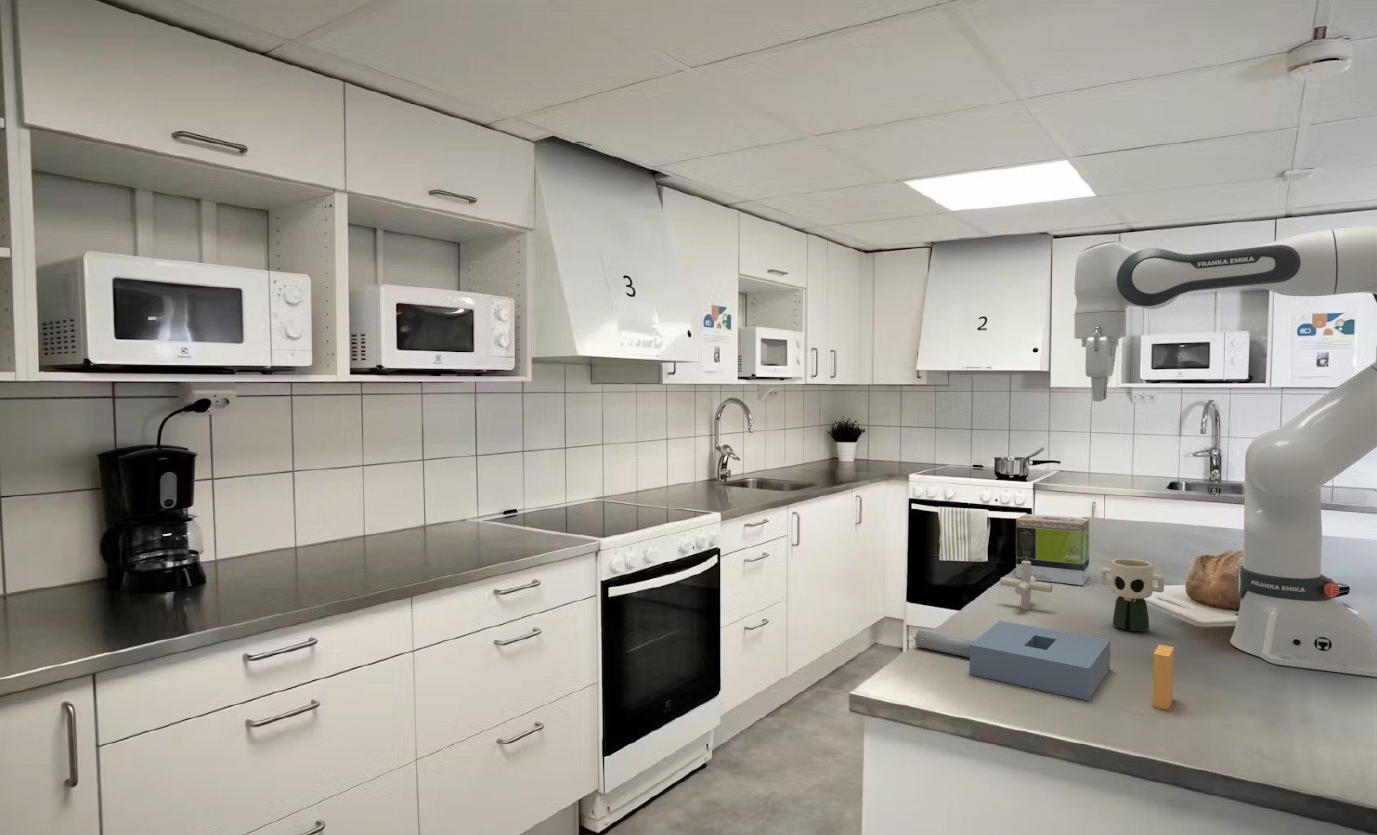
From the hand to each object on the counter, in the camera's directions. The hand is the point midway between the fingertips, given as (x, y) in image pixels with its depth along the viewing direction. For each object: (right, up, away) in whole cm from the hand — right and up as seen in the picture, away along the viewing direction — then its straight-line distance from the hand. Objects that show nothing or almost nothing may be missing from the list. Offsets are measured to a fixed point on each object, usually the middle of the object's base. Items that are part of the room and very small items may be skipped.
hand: (1099, 400), depth 153 cm
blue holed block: (-26, -46, -17) cm, 55 cm away
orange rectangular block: (-8, -46, -34) cm, 58 cm away
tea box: (+9, -43, +39) cm, 59 cm away
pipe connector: (-8, -44, +15) cm, 47 cm away
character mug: (+6, -45, +1) cm, 45 cm away
